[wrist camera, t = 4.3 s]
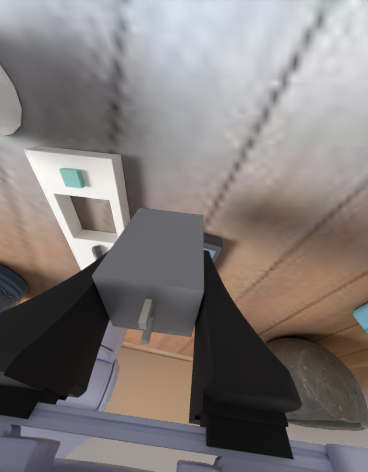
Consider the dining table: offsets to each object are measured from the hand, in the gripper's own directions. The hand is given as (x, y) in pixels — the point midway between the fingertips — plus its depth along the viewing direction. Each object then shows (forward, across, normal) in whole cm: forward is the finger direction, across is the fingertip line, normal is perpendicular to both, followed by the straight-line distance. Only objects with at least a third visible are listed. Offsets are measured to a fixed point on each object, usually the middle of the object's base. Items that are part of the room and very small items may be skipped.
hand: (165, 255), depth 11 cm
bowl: (+9, -28, +33) cm, 44 cm away
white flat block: (+9, +10, +5) cm, 14 cm away
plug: (+2, 0, 0) cm, 2 cm away
